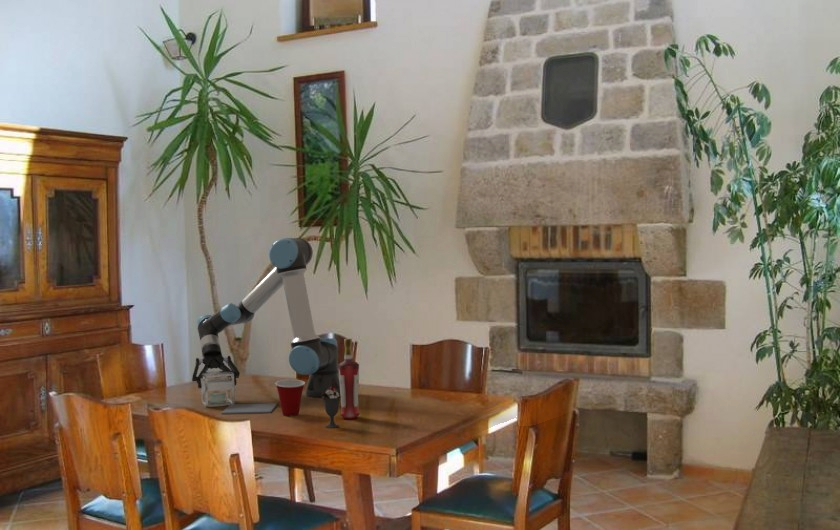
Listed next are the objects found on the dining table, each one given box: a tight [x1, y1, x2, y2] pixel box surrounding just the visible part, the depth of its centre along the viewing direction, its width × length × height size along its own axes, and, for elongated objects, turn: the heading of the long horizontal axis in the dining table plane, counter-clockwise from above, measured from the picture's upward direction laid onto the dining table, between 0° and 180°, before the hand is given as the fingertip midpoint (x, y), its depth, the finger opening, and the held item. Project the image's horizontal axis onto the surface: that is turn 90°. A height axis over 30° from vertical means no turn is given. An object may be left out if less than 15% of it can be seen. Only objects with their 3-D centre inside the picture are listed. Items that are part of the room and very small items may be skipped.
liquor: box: [338, 338, 360, 420], centre depth 320 cm, size 7×7×28 cm
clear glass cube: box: [200, 370, 236, 408], centre depth 355 cm, size 11×11×12 cm
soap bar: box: [208, 391, 227, 405], centre depth 355 cm, size 6×6×4 cm
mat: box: [221, 403, 278, 415], centre depth 341 cm, size 18×16×1 cm
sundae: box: [321, 382, 341, 429], centre depth 306 cm, size 7×7×15 cm
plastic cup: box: [274, 379, 306, 417], centre depth 329 cm, size 11×11×12 cm
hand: (219, 392), depth 352 cm, fingers closed on clear glass cube, 11 cm apart
